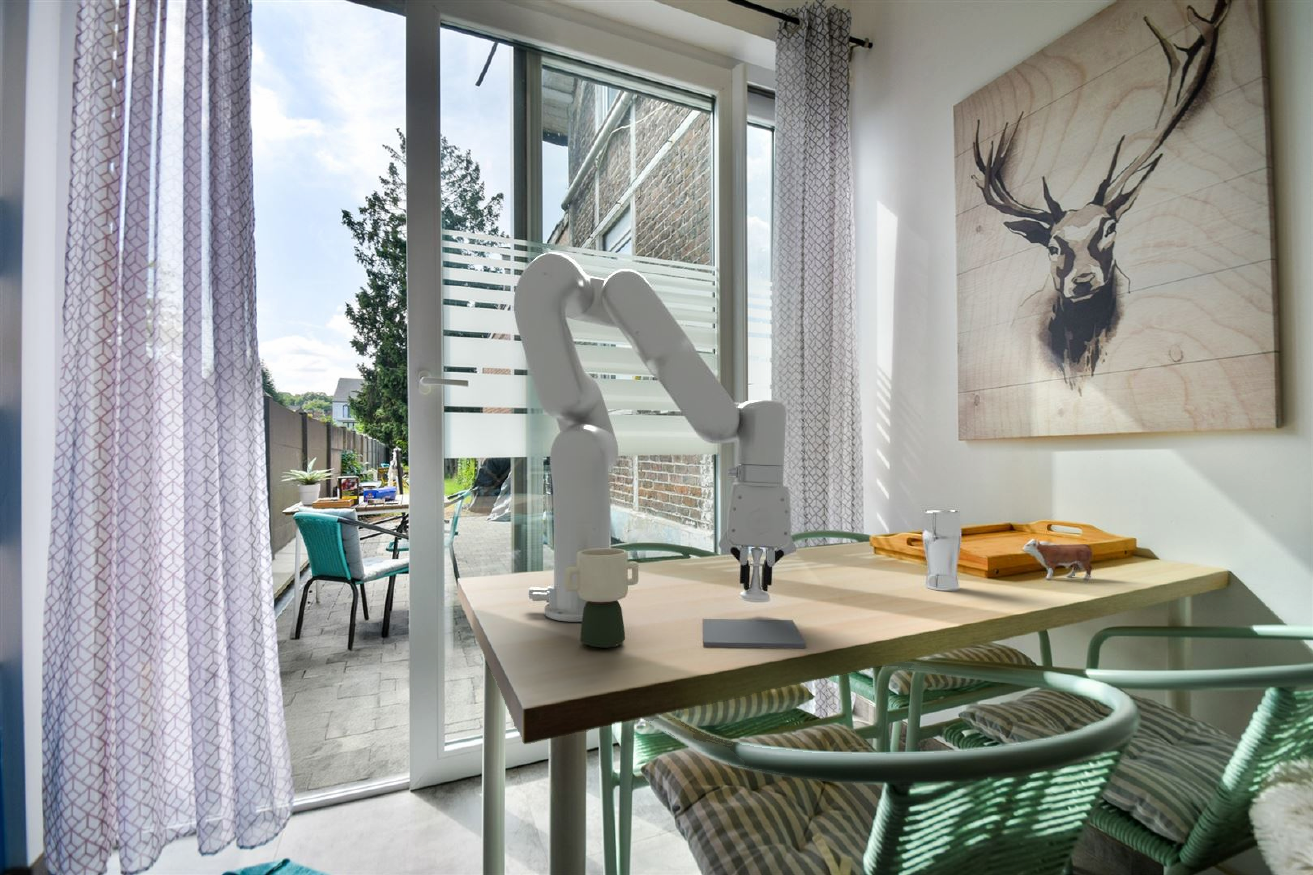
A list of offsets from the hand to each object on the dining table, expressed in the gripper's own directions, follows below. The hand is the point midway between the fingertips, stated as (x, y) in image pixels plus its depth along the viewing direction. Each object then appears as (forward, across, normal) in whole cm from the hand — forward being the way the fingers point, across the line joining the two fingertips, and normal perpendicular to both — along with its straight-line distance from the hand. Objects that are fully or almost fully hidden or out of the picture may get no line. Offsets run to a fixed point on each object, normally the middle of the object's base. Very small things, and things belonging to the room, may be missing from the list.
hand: (755, 588), depth 101 cm
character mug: (+6, -22, -16) cm, 28 cm away
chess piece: (+2, 0, 0) cm, 2 cm away
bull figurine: (+2, +66, +33) cm, 74 cm away
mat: (+5, -1, -10) cm, 11 cm away
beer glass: (+3, +39, +23) cm, 45 cm away
